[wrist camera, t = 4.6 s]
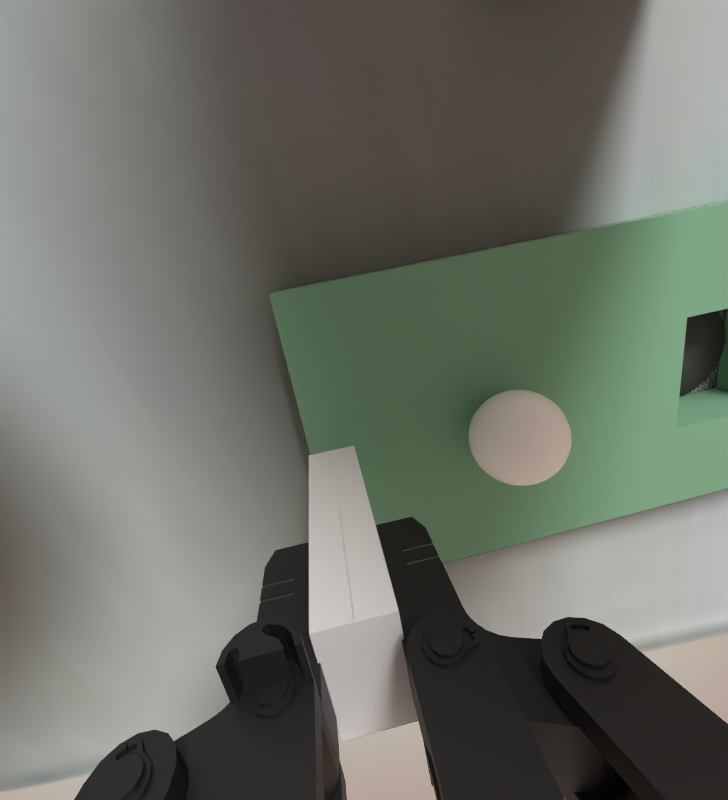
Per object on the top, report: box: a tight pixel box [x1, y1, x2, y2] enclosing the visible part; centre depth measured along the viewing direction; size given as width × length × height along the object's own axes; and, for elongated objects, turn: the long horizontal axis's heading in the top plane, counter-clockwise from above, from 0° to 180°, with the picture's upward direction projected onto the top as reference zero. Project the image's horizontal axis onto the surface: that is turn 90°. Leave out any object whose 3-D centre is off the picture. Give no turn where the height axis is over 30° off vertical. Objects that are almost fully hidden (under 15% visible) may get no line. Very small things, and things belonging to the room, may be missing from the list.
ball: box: [469, 390, 572, 486], centre depth 13 cm, size 3×3×3 cm
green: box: [269, 201, 728, 564], centre depth 16 cm, size 22×12×2 cm, turn 101°
